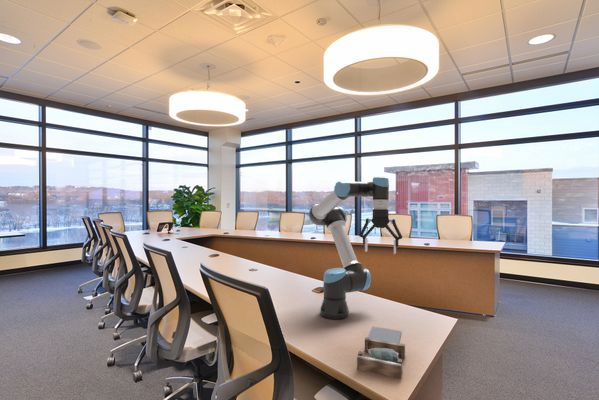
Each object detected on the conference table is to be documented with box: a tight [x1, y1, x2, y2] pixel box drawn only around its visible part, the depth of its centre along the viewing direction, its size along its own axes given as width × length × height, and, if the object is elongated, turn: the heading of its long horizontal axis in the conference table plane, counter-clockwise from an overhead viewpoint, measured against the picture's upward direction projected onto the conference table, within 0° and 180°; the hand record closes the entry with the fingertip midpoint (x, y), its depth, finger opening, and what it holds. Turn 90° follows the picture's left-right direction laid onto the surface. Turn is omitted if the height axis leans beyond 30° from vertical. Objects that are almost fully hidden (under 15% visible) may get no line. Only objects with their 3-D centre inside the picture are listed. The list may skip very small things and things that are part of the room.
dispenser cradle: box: [356, 336, 406, 379], centre depth 116 cm, size 15×18×5 cm
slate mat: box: [367, 326, 402, 344], centre depth 137 cm, size 13×16×1 cm
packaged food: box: [367, 348, 404, 366], centre depth 114 cm, size 9×12×5 cm
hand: (380, 252), depth 151 cm, fingers open, 13 cm apart
